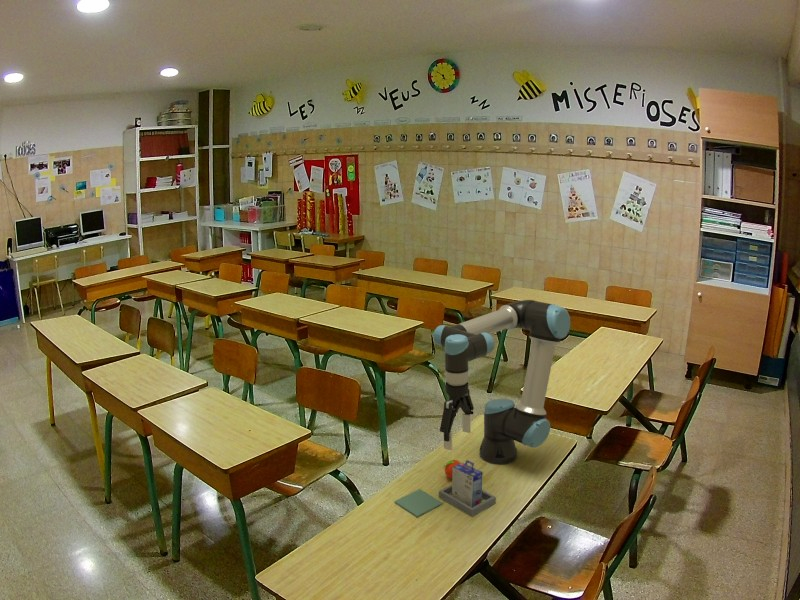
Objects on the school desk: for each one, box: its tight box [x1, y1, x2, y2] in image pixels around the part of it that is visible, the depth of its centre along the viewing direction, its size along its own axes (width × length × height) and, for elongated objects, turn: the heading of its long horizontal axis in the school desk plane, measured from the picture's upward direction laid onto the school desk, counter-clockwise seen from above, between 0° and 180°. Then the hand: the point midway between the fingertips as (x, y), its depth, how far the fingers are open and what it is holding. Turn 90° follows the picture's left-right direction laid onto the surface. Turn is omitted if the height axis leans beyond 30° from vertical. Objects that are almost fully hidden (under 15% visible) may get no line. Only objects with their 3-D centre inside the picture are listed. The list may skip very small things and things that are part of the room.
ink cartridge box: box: [451, 459, 483, 508], centre depth 214 cm, size 10×6×14 cm, turn 43°
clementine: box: [442, 459, 461, 480], centre depth 230 cm, size 8×7×7 cm
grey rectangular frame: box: [438, 484, 497, 518], centre depth 216 cm, size 12×16×2 cm
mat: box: [394, 488, 444, 518], centre depth 214 cm, size 12×12×1 cm
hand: (457, 440), depth 207 cm, fingers open, 13 cm apart
